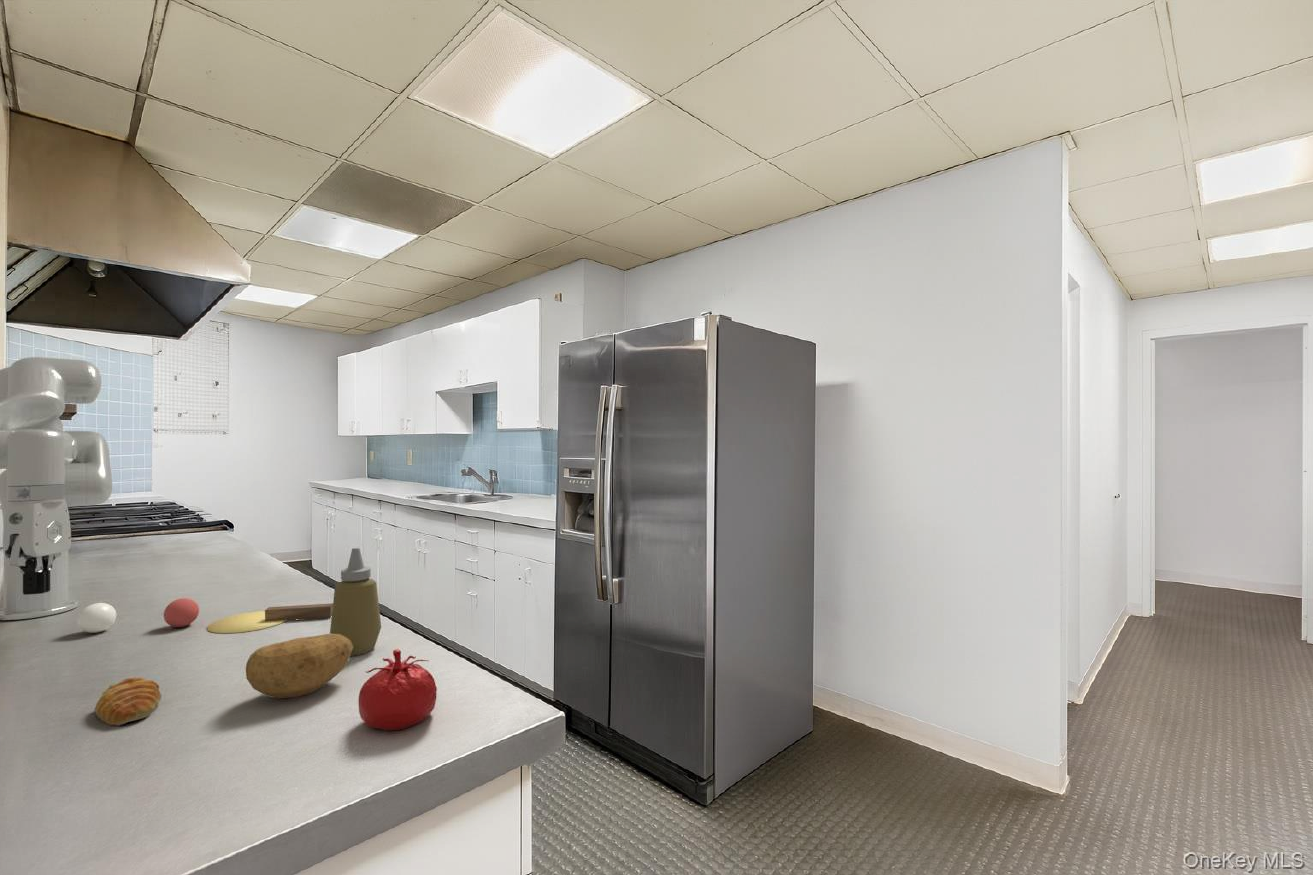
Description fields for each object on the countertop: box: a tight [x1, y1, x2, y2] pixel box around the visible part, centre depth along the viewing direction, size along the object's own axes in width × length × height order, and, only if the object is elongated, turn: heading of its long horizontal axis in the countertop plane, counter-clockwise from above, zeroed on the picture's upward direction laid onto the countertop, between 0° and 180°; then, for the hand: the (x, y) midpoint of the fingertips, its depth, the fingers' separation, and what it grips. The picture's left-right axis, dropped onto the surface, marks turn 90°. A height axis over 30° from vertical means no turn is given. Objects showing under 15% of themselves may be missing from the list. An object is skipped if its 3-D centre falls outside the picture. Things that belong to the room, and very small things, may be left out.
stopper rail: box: [264, 602, 333, 621], centre depth 122 cm, size 2×12×2 cm, turn 104°
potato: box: [245, 633, 353, 699], centre depth 87 cm, size 10×14×8 cm
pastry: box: [94, 676, 163, 726], centre depth 81 cm, size 9×7×4 cm
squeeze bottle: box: [329, 547, 382, 657], centre depth 104 cm, size 8×8×18 cm
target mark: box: [206, 610, 287, 634], centre depth 120 cm, size 14×14×1 cm
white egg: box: [76, 602, 117, 634], centre depth 114 cm, size 6×6×6 cm
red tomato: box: [357, 649, 438, 731], centre depth 79 cm, size 10×10×9 cm
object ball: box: [163, 597, 200, 628], centre depth 117 cm, size 6×6×6 cm
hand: (36, 592), depth 111 cm, fingers closed
